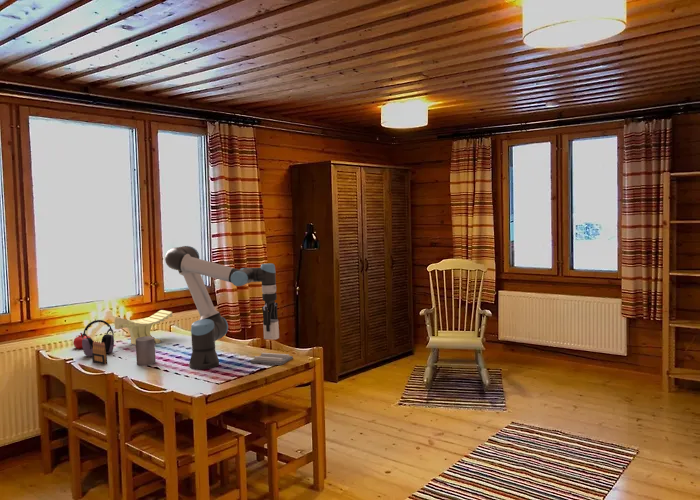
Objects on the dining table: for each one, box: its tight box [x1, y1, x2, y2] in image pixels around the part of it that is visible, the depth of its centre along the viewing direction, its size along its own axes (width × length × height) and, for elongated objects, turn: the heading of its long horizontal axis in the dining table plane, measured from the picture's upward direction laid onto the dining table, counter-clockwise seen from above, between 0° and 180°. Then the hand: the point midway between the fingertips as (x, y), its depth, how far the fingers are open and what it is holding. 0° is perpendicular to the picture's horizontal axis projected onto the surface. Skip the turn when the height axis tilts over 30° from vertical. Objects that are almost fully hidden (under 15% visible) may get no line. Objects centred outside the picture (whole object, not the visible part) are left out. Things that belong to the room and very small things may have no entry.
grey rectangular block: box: [262, 319, 280, 340], centre depth 309 cm, size 4×7×10 cm, turn 70°
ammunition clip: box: [91, 340, 108, 365], centre depth 315 cm, size 11×2×12 cm, turn 57°
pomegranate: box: [72, 332, 92, 350], centre depth 353 cm, size 10×10×9 cm
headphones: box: [82, 319, 115, 358], centre depth 334 cm, size 9×17×20 cm, turn 136°
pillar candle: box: [135, 335, 157, 366], centre depth 311 cm, size 10×10×15 cm
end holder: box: [250, 352, 294, 366], centre depth 310 cm, size 14×18×3 cm
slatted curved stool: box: [114, 309, 173, 346], centre depth 362 cm, size 30×16×18 cm, turn 137°
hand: (271, 336), depth 309 cm, fingers closed on grey rectangular block, 4 cm apart
